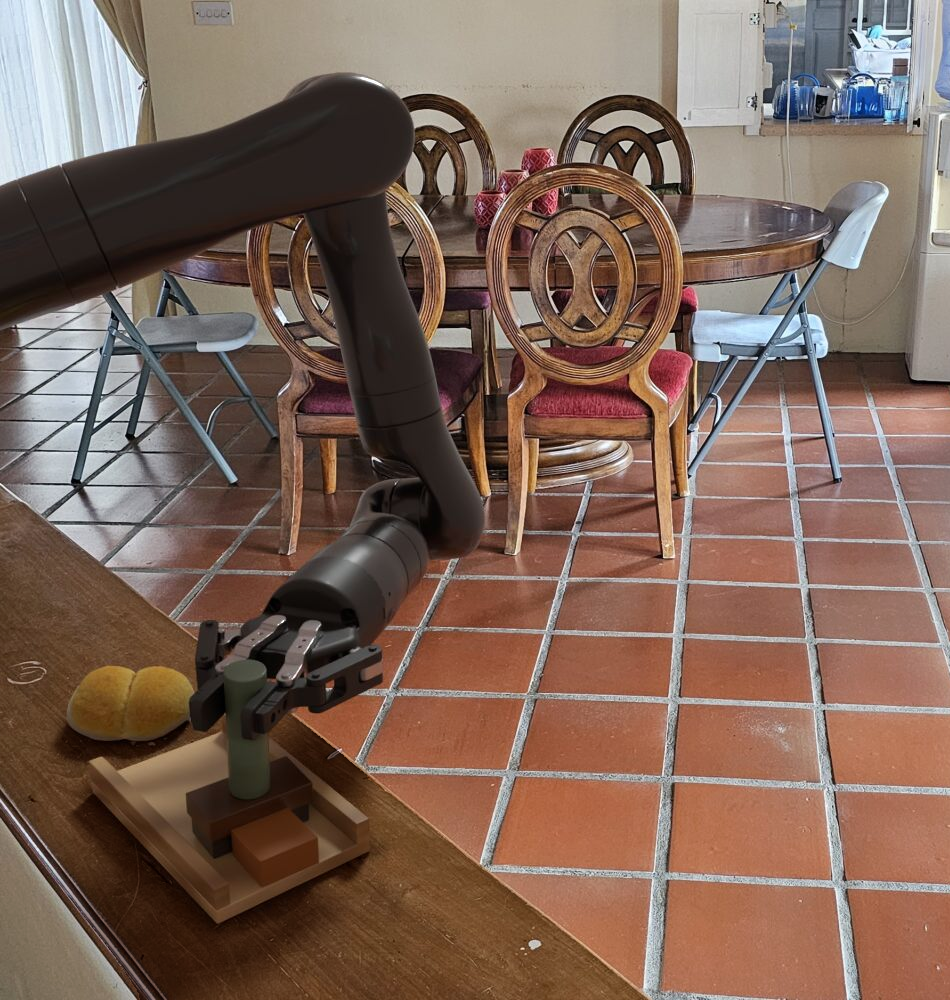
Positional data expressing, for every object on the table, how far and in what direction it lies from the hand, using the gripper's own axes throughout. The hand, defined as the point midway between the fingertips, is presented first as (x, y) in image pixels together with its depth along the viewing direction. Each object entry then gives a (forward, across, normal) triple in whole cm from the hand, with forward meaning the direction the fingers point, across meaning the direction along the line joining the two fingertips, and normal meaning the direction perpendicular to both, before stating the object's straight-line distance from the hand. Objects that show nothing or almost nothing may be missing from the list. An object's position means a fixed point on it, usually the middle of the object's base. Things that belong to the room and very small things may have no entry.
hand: (222, 722), depth 79 cm
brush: (-3, -1, +10) cm, 11 cm away
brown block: (-1, +2, +10) cm, 11 cm away
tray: (-5, -3, +11) cm, 13 cm away
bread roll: (-15, -16, +12) cm, 25 cm away
